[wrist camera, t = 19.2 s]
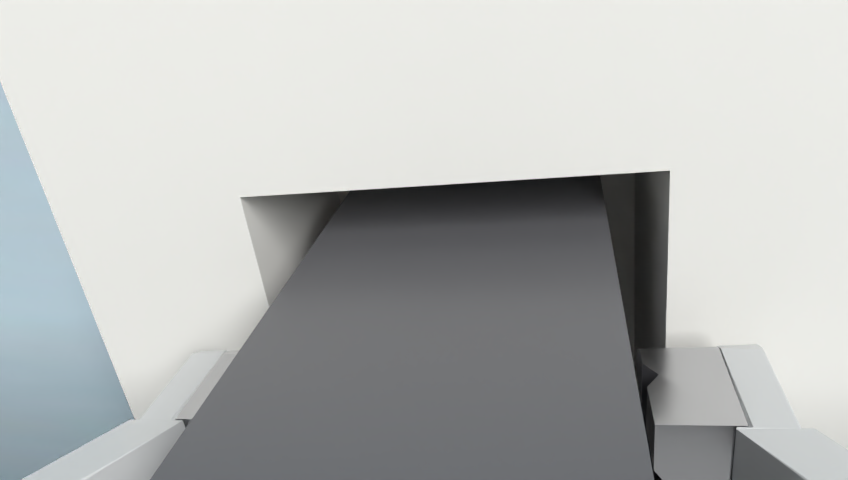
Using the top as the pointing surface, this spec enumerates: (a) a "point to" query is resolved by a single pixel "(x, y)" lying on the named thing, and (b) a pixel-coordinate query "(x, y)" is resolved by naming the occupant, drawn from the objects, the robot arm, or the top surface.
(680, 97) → the socket
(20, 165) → the top surface
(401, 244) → the plug
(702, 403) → the robot arm
